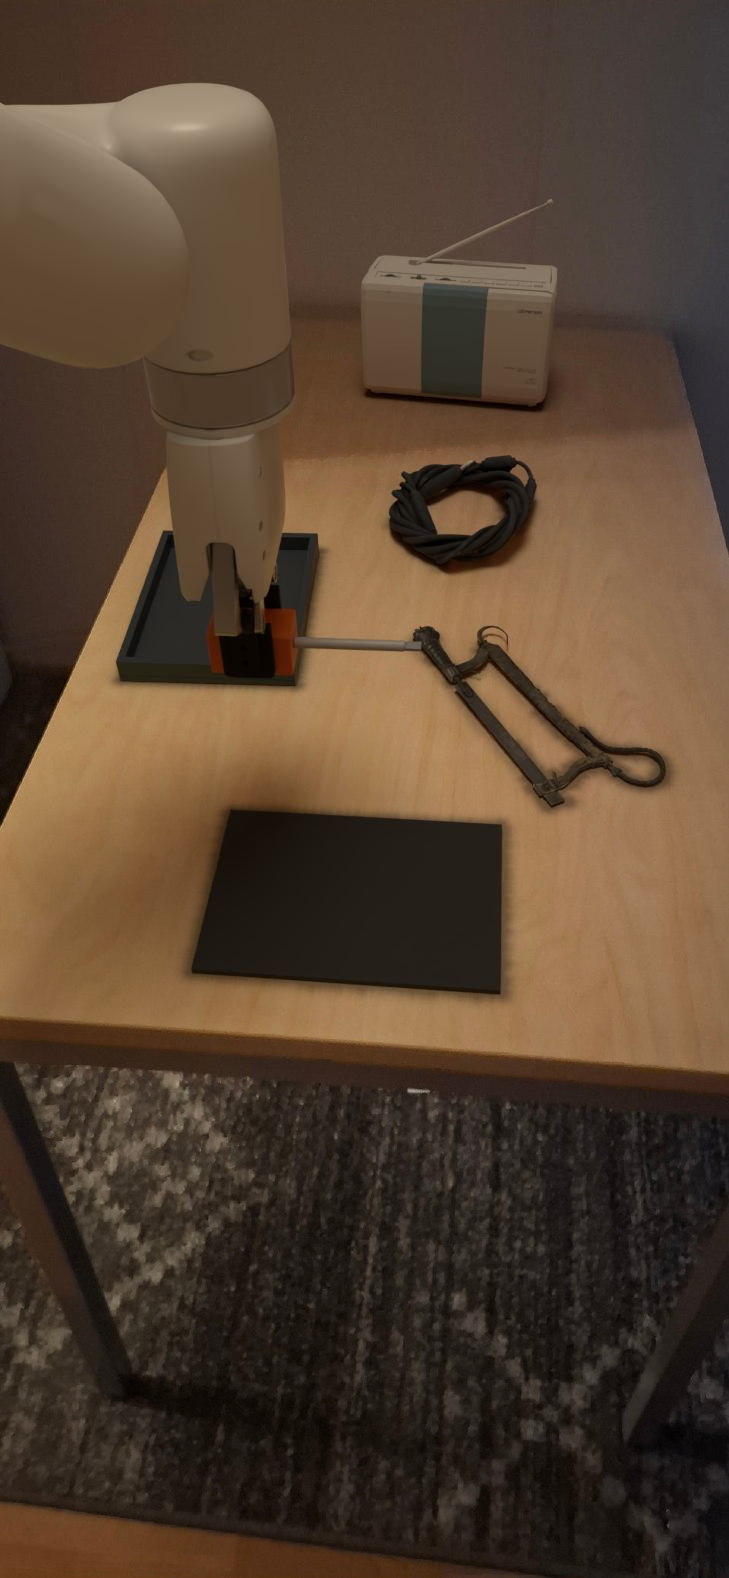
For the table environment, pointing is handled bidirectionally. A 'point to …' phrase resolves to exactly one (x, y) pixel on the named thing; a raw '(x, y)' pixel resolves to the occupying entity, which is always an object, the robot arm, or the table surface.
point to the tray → (203, 617)
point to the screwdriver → (301, 642)
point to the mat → (356, 901)
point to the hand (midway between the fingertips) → (254, 653)
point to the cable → (431, 479)
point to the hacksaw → (495, 652)
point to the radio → (458, 327)
